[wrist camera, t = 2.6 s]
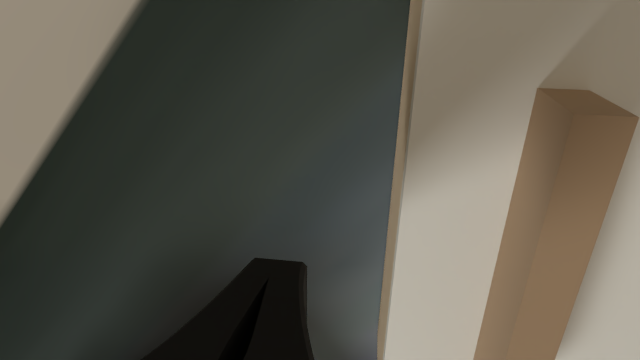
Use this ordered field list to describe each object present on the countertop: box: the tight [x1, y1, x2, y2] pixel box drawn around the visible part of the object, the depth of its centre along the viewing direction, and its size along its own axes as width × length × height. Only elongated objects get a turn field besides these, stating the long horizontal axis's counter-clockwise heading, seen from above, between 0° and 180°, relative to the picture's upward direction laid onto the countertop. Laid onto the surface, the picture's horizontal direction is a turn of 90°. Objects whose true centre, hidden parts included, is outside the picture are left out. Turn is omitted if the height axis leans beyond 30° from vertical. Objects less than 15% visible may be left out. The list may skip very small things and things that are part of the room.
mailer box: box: [377, 0, 422, 360], centre depth 15 cm, size 16×12×4 cm
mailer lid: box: [383, 0, 640, 360], centre depth 12 cm, size 16×12×3 cm
